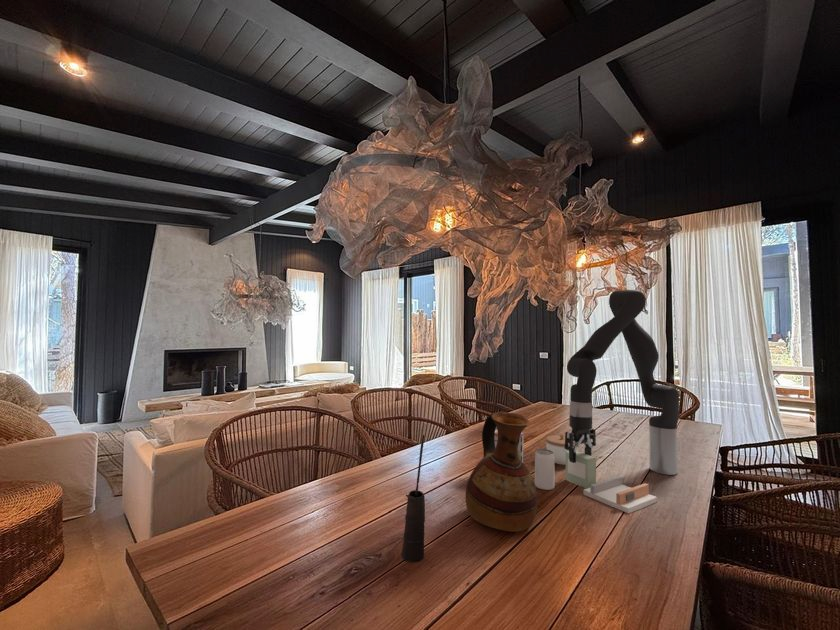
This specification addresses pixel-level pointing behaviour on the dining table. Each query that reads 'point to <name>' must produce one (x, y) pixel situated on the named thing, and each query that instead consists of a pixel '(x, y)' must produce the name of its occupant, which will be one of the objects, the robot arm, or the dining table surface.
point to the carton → (581, 470)
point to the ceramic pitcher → (502, 478)
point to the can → (544, 469)
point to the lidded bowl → (558, 448)
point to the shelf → (621, 494)
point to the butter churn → (414, 522)
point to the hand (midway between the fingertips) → (580, 460)
